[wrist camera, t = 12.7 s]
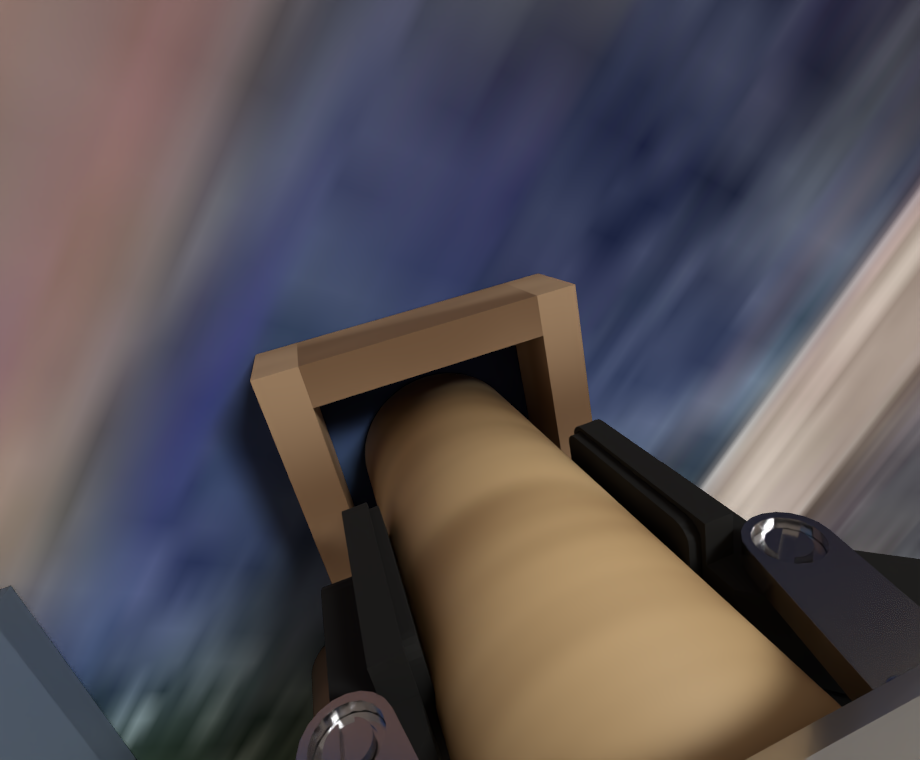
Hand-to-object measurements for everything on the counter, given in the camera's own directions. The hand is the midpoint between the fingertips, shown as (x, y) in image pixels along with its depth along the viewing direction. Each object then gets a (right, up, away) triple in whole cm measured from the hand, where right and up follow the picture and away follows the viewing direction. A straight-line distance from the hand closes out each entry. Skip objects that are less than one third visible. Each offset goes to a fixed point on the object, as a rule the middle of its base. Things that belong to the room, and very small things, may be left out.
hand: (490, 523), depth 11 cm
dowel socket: (-1, +1, +4) cm, 4 cm away
